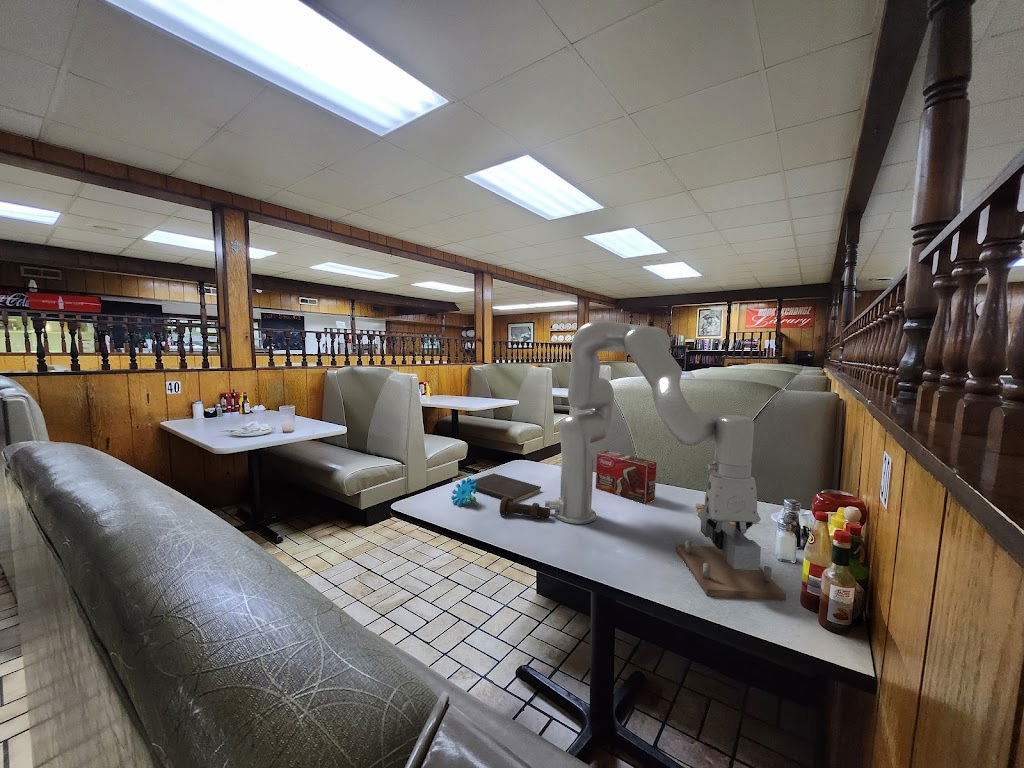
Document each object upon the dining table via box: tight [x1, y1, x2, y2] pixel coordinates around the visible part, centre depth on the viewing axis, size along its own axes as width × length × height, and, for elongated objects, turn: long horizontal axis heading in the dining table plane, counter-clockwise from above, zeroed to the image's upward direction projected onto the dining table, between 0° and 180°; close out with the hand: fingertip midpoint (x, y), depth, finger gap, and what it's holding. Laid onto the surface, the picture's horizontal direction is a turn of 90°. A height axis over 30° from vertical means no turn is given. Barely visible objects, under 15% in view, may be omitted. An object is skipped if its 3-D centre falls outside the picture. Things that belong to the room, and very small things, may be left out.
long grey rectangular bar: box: [699, 513, 762, 570], centre depth 96 cm, size 5×18×5 cm, turn 177°
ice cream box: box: [595, 450, 658, 505], centre depth 147 cm, size 20×6×13 cm, turn 42°
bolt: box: [499, 497, 551, 520], centre depth 127 cm, size 6×5×15 cm
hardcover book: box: [471, 473, 542, 503], centre depth 150 cm, size 16×23×2 cm
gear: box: [450, 477, 480, 507], centre depth 137 cm, size 11×6×10 cm
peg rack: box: [675, 539, 787, 601], centre depth 97 cm, size 16×20×4 cm
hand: (727, 546), depth 96 cm, fingers closed on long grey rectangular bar, 3 cm apart
